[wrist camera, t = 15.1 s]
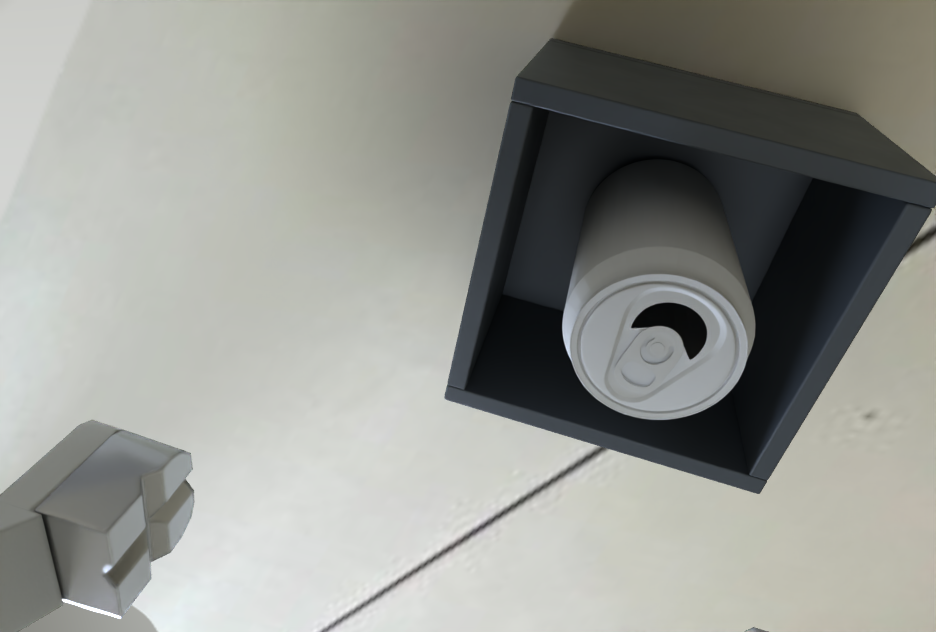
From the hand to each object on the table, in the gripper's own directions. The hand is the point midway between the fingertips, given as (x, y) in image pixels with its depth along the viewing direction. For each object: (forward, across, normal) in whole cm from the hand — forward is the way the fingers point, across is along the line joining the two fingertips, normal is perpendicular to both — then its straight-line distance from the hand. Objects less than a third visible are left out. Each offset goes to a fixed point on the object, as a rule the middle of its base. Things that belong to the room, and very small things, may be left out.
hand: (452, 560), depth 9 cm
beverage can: (+25, -4, +4) cm, 26 cm away
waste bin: (+26, -4, +4) cm, 26 cm away
